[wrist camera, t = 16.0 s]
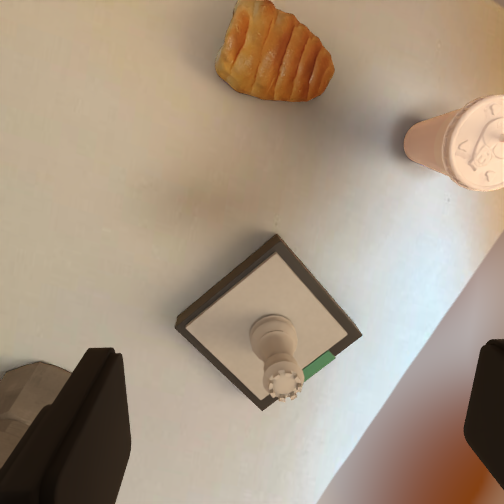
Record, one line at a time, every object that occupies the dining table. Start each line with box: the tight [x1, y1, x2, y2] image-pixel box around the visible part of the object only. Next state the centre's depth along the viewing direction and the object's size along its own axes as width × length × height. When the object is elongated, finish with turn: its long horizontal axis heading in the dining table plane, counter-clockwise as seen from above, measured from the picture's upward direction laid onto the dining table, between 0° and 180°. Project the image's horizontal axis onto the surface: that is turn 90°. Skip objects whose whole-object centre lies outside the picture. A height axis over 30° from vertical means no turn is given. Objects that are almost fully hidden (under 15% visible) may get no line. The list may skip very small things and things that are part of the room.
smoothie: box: [404, 95, 504, 191], centre depth 28 cm, size 6×6×14 cm
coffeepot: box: [0, 362, 71, 469], centre depth 32 cm, size 15×9×18 cm, turn 39°
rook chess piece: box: [249, 315, 304, 402], centre depth 32 cm, size 4×4×8 cm
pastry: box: [215, 0, 335, 102], centre depth 30 cm, size 9×7×4 cm
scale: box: [175, 234, 362, 411], centre depth 38 cm, size 13×13×3 cm
